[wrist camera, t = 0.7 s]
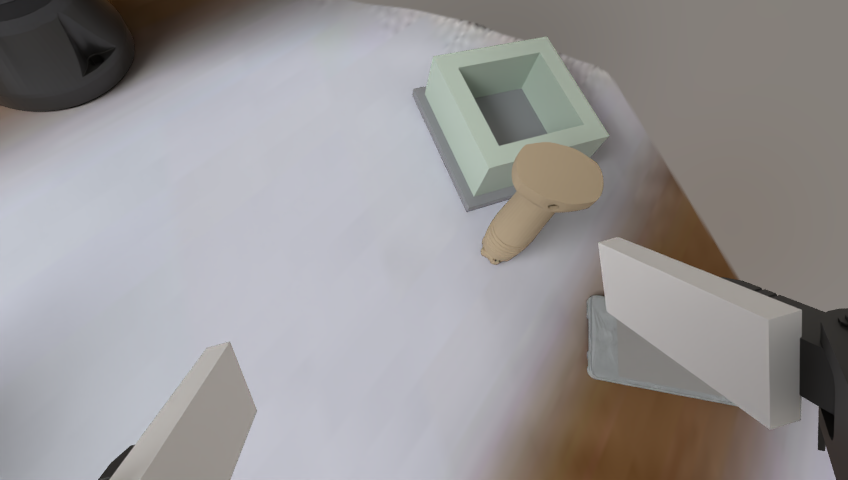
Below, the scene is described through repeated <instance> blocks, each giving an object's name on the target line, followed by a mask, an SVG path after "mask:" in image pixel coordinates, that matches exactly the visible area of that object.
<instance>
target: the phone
mask: <svg viewBox="0 0 848 480" xmlns="http://www.w3.org/2000/svg"><path fill="white" fill-rule="evenodd" d="M587 319H589V351H587V358H588V367H587V371H588V374H589V375H590V376H591V377H592V378H593V379H597V380H603V381H608V382H613V383H618V384H623V385H629V386H634V387H639V388H644V389H650V390H655V391H660V392H665V393H671V394H676V395H681V396H686V397H691V398H697V399H702V400H707V401H712V402H718V403H723V404H728V405H733V406H737V405H735V404H734V403H733V402H731V401H730V400H728V399H727V398H726V397H724V396H723V395H721V394H720V393H719V392H717V391H716V390H715V389H713V388H712V387H710V386H709V385H708V384H706V383H705V382H703V381H702V380H701V379H699V378H698V377H697V376H695V375H694V374H692V373H691V372H690V371H688V370H687V369H685V368H684V367H683V366H681V365H680V364H679V363H677V362H676V361H674V360H673V359H672V358H670V357H669V356H667V355H666V354H665V353H663V352H662V351H661V350H659V349H658V348H656V347H655V346H654V345H652V344H651V343H649V342H648V341H647V340H645V339H644V338H643V337H641V336H640V335H638V334H637V333H636V332H634V331H633V330H632V329H630V328H629V327H627V326H626V325H625V324H623V323H622V322H620V321H619V320H618V319H616V318H615V317H614V316H612V315H611V314H609V313H608V312H607V310H606V302H605V297H604V296H599V295H594V296H592V297H590V298H589V299H588V300H587Z"/></svg>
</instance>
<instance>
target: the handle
mask: <svg viewBox="0 0 848 480" xmlns="http://www.w3.org/2000/svg"><path fill="white" fill-rule="evenodd" d="M512 182H513V185H514V187H515V189H516V193H515V194H514V195H513V196H512V197H511V199H510V200H509V201H508V202H507V203H506V204H505V205H504V206H503V208H502V209H501V210H500V211H499V212H498V213H497V215H496V216H495V217H494V219H493V220H492V222H491V223H490V225H489V227H488V229H487V232H486V234H485V236H484V238H483V240H482V244H483V247H482V249H481V254H482V256H485V257H486V258H488V259H489V260H490V263H491V264H494V265H497V264H499V263H500V262H502V261H508V260H510V259H512V257H514V256H516V255H517V254H519V253H520V252H521V251H523V250H524V249H525V248H526V247H527V246H528V245H529V244H530V243H531V242H532V241H533V240H534V239H535V237H536V236H537V235H538V233H539V232H540V231H541V230H542V228H543V227H544V226H545V224H546V223H547V222H548V221H549V220H550V218H551V217H552V216H553V215H554V214H555V212H556V213H558V212H572V211H578V210H582V209H586V208H589V207H590V206H591V205H592V204H593V203H594V202H596V201H597V200H598V198H599V197H600V196H601V194H602V190H603V175H602V171H601V169H600V167H599V166H598V164H597V163H596V162H595V161H593V160H592V159H591V158H589V157H588V156H586V155H585V154H583V153H582V152H580V151H578V150H576V149H574V148H571V147H568V146H564V145H560V144H556V143H551V142H540V143H533V144H526V145H525V146H524V147H523V148H522V149H521V150H520V152H519V153H518V155H517V156H516V158H515V161H514V163H513V166H512Z"/></svg>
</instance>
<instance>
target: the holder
mask: <svg viewBox="0 0 848 480" xmlns="http://www.w3.org/2000/svg"><path fill="white" fill-rule="evenodd" d="M413 97H414V99H415V102H416V104H417V106H418V108H419V110H420V112H421V115H422V117H423V119H424V121H425V123H426V125H427V127H428V130H429V132H430V134H431V136H432V138H433V140H434V143H435V145H436V147H437V149H438V151H439V153H440V155H441V158H442V160H443V162H444V164H445V166H446V168H447V171H448V173H449V175H450V177H451V179H452V181H453V183H454V186H455V188H456V190H457V192H458V194H459V196H460V199H461V201H462V203H463V205H464V207H465V209H466V211H467V212H468V211H471V210H475V209H478V208H481V207H485V206H488V205H492V204H495V203H498V202H502V201H505V200H509V199H511V197H512V196H513V195H514V194H515V193H516V189H515V187H514V185H513V182H512V166H513V163H514V161H515V158H516V156H517V155H518V153H519V152H520V150H521V149H522V148H523V147H524V146H525V145H526V144H533V143H540V142H551V143H556V144H560V145H564V146H568V147H571V148H574V149H576V150H578V151H580V152H582V153H583V154H585V155H586V156H588V157H589V158H590V157H591V156H592V155H593V154H594V153H595V151H596V150H597V149H598V148H599V147H600V146H601V145H602V144H603V143H604V141H605V140H606V139H607V138H608V137H609V134H608V133H607V131H606V130H605V128H604V127H603V125H602V123H601V122H600V120H599V119H598V117H597V115H596V114H595V112H594V111H593V109H592V107H591V106H590V104H589V103H588V101H587V100H586V98H585V96H584V95H583V93H582V92H581V90H580V88H579V87H578V85H577V84H576V82H575V80H574V79H573V77H572V76H571V74H570V73H569V71H568V69H567V68H566V66H565V65H564V63H563V61H562V60H561V58H560V57H559V55H558V53H557V52H556V50H555V49H554V47H553V46H552V44H551V42H550V41H549V39H548V38H547V37H542V38H535V39H530V40H524V41H518V42H513V43H507V44H501V45H496V46H490V47H484V48H479V49H473V50H467V51H462V52H456V53H450V54H445V55H439V56H433V60H432V64H431V69H430V73H429V77H428V82H427V86H426V87H421V88H416V89H414V90H413Z"/></svg>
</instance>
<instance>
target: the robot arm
mask: <svg viewBox="0 0 848 480" xmlns="http://www.w3.org/2000/svg"><path fill="white" fill-rule="evenodd" d="M133 57H134V41H133V37H132V35H131V33H130V31H129V29H128V27H127V26H126V24H125V22H124V20H123V18H122V17H121V15H120V14H119V12H118V11H117V10H116V9H115V7H114V6H113V5H112V4H111V3H110V2H109V1H108V0H0V105H2V106H5V107H8V108H12V109H17V110H24V111H52V110H60V109H65V108H69V107H73V106H77V105H80V104H83V103H85V102H88V101H90V100H92V99H95V98H97V97H98V96H100V95H102V94H104V93H105V92H107V91H108V90H110V89H111V88H112V87H113V86H115V85H116V84H117V83H118V82H119V81H120V80H121V79H122V78H123V77H124V75H125V74H126V73H127V71H128V69H129V68H130V66H131V63H132V61H133ZM598 246H599V254H600V262H601V270H602V278H603V286H604V294H605V302H606V310H607V312H608V313H609V314H611V315H612V316H614V317H615V318H616V319H618V320H619V321H620V322H622V323H623V324H625V325H626V326H627V327H629V328H630V329H632V330H633V331H634V332H636V333H637V334H638V335H640V336H641V337H643V338H644V339H645V340H647V341H648V342H649V343H651V344H652V345H654V346H655V347H656V348H658V349H659V350H661V351H662V352H663V353H665V354H666V355H667V356H669V357H670V358H672V359H673V360H674V361H676V362H677V363H679V364H680V365H681V366H683V367H684V368H685V369H687V370H688V371H690V372H691V373H692V374H694V375H695V376H697V377H698V378H699V379H701V380H702V381H703V382H705V383H706V384H708V385H709V386H710V387H712V388H713V389H715V390H716V391H717V392H719V393H720V394H721V395H723V396H724V397H726V398H727V399H728V400H730V401H731V402H733V403H734V404H735V405H737V406H738V407H739V408H741V409H742V410H744V411H745V412H746V413H748V414H749V415H751V416H752V417H753V418H755V419H756V420H757V421H759V422H760V423H762V424H763V425H764V426H766V427H767V428H768V429H770V430H771V429H774V428H777V427H780V426H784V425H787V424H790V423H793V422H796V421H799V420H801V396H802V397H804V398H806V399H807V400H809V401H811V402H812V403H814V404H816V405H817V406H819V423H818V450H822V451H825V447H827V451H828V454H829V457H830V460H831V464H832V467H833V470H834V474H835V477H836V480H848V309H836V310H832V311H828V312H823V311H820V310H818V309H815V308H813V307H810V306H807V305H804V304H802V303H799V302H797V301H794V300H791V299H789V298H786V297H784V296H781V295H778V296H777V295H776V293H773V292H771V291H768V290H762V289H761V288H760V287H757V286H755V285H752V284H750V283H747V282H744V281H740V280H735V279H729V278H724V277H718V276H715V275H713V274H710V273H708V272H705V271H703V270H700V269H697V268H695V267H692V266H690V265H687V264H685V263H682V262H680V261H677V260H675V259H672V258H670V257H667V256H665V255H662V254H660V253H657V252H655V251H652V250H650V249H647V248H645V247H642V246H640V245H637V244H635V243H632V242H630V241H627V240H624V239H622V238H619V237H616V238H612V239H609V240H605V241H601V242H598ZM256 412H257V409H256V407H255V404H254V402H253V399H252V397H251V394H250V391H249V389H248V386H247V384H246V381H245V379H244V376H243V374H242V371H241V368H240V366H239V363H238V361H237V358H236V356H235V353H234V351H233V348H232V346H231V343H230V342H227V343H223V344H219V345H216V346H212V347H208V348H206V350H205V351H204V352H203V354H202V355H201V357H200V358H199V359H198V361H197V362H196V363H195V365H194V366H193V367H192V369H191V370H190V371H189V373H188V374H187V375H186V377H185V378H184V379H183V381H182V382H181V384H180V385H179V386H178V388H177V389H176V390H175V392H174V393H173V394H172V396H171V397H170V398H169V400H168V401H167V402H166V404H165V405H164V407H163V408H162V409H161V411H160V412H159V413H158V415H157V416H156V417H155V419H154V420H153V421H152V423H151V424H150V425H149V427H148V428H147V429H146V431H145V432H144V434H143V435H142V436H141V438H140V439H139V440H138V442H137V443H136V444H135V445H132V446H130V447H129V448H128V449H126V450H125V451H124V452H123V453H122V454H121V455H119V456H118V457H117V458H116V459H115V460H114V461H113V462H111V464H110V465H109V466H108V467H107V469H106V470H105V471H104V473H103V474H102V475H101V477H100V478H99V479H98V480H230V479H231V476H232V474H233V471H234V469H235V466H236V464H237V461H238V458H239V456H240V453H241V451H242V448H243V445H244V443H245V440H246V438H247V435H248V433H249V430H250V427H251V425H252V422H253V420H254V417H255V415H256Z"/></svg>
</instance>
